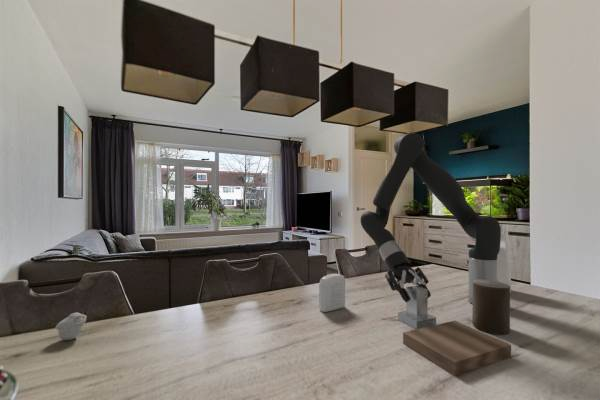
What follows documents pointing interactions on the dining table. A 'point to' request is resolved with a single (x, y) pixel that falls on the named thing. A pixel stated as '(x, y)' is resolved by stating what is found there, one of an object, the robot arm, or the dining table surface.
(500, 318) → the pillar candle
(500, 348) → the walnut plinth
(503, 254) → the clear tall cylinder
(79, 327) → the frog figurine
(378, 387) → the dining table surface
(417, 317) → the block
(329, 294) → the photo printer
